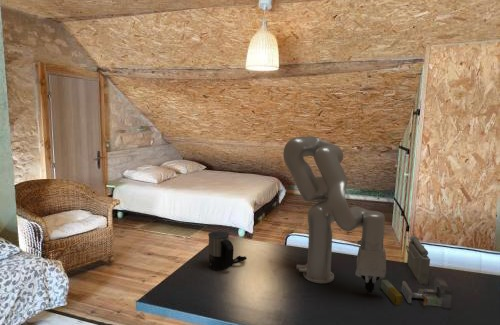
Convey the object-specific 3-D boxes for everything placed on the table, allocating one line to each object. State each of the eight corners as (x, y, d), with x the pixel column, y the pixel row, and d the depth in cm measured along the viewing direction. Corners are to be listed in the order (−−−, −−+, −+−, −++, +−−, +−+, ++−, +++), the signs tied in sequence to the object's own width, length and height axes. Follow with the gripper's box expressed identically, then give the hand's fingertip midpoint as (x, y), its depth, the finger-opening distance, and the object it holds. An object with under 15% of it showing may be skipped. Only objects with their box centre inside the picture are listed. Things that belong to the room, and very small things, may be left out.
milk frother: (203, 267, 145) (203, 234, 143) (225, 255, 159) (225, 225, 157) (230, 276, 138) (230, 241, 136) (250, 262, 151) (251, 231, 149)
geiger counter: (434, 252, 132) (416, 231, 156) (416, 250, 133) (401, 230, 157) (430, 285, 134) (413, 259, 158) (413, 283, 135) (399, 258, 159)
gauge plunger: (409, 305, 118) (410, 294, 117) (401, 291, 127) (402, 280, 127) (443, 309, 116) (444, 297, 116) (432, 294, 126) (433, 283, 125)
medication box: (380, 288, 131) (380, 279, 130) (387, 288, 131) (387, 278, 130) (394, 305, 119) (395, 295, 118) (402, 305, 119) (402, 295, 118)
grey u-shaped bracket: (427, 306, 118) (429, 288, 117) (419, 293, 127) (420, 276, 126) (450, 308, 117) (452, 290, 116) (439, 295, 126) (441, 277, 125)
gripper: (352, 247, 120) (350, 294, 123) (396, 250, 118) (392, 298, 120) (349, 239, 128) (347, 284, 130) (390, 242, 125) (387, 288, 128)
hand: (369, 291), depth 125 cm, fingers closed
